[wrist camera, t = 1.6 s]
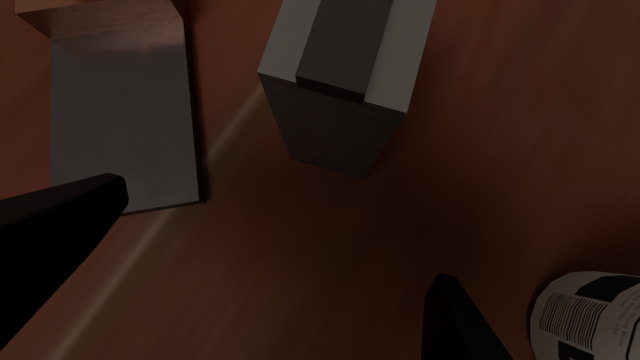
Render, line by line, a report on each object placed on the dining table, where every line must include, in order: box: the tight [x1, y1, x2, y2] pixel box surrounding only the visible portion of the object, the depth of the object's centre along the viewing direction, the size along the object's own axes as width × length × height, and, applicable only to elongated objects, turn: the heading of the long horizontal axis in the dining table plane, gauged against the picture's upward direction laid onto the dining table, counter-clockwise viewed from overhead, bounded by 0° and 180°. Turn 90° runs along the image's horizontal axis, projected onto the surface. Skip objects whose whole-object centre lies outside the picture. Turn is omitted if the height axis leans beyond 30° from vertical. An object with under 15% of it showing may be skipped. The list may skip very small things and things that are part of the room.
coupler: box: [15, 0, 206, 217], centre depth 22 cm, size 19×10×5 cm, turn 9°
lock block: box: [257, 0, 437, 179], centre depth 17 cm, size 6×6×13 cm
